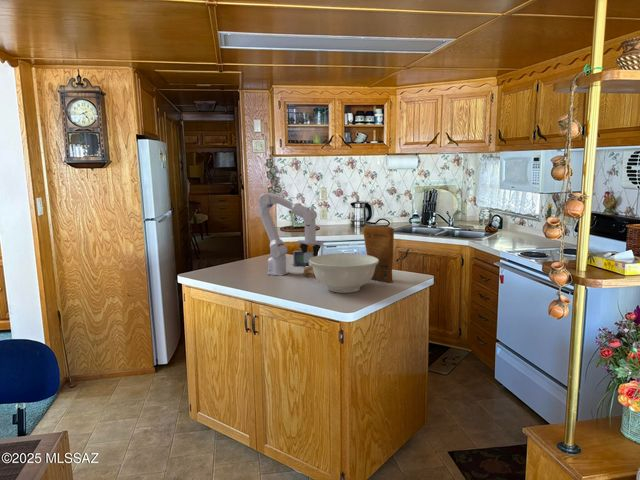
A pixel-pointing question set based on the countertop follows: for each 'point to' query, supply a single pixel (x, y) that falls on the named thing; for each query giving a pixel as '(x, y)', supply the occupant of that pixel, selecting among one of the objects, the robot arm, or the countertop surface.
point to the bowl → (344, 271)
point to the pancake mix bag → (380, 250)
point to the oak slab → (309, 269)
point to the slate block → (308, 256)
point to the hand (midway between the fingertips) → (310, 258)
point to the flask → (299, 258)
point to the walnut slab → (308, 274)
